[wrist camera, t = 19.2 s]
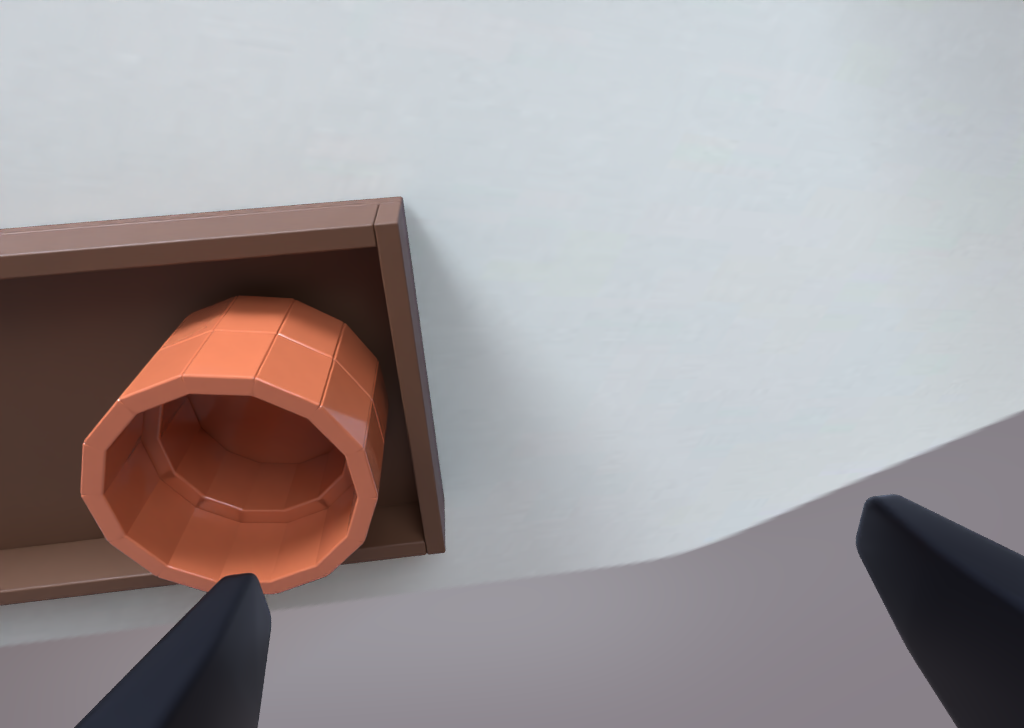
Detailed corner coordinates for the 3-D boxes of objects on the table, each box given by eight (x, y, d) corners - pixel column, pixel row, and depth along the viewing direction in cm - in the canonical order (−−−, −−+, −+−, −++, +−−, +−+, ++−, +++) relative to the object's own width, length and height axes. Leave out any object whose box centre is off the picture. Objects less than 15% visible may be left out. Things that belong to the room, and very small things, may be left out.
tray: (402, 195, 18) (397, 221, 15) (444, 500, 23) (445, 553, 21) (-550, 273, 16) (-711, 315, 14) (-270, 581, 21) (-353, 648, 19)
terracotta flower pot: (423, 434, 21) (420, 544, 17) (237, 502, 21) (187, 626, 17) (327, 254, 18) (293, 331, 13) (111, 338, 18) (10, 440, 14)
